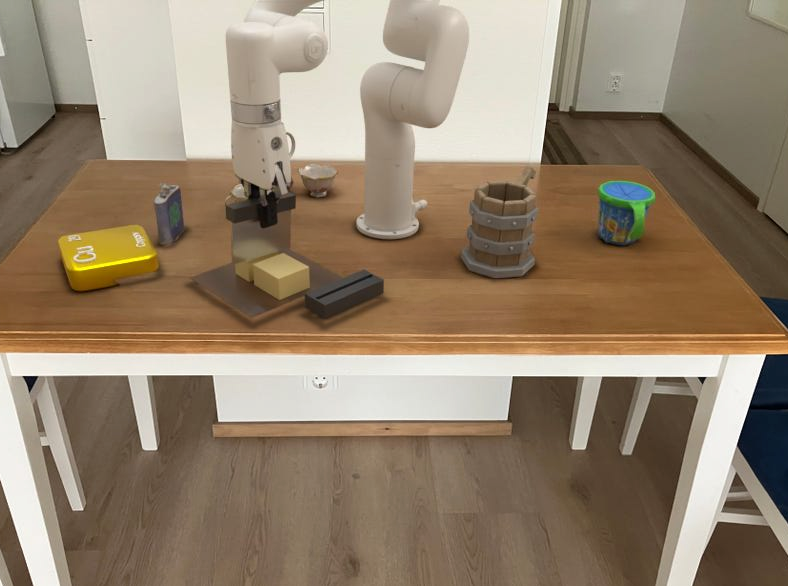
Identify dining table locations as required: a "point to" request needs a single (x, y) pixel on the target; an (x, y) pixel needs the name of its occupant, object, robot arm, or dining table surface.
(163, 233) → the flask
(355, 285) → the scraper stand
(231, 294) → the cutting board
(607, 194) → the snack cup
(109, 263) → the element tile
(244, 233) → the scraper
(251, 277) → the butter slice
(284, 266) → the butter
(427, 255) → the dining table surface
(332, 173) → the chinaware
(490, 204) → the tankard
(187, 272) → the dining table surface
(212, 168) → the dining table surface
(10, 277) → the dining table surface
